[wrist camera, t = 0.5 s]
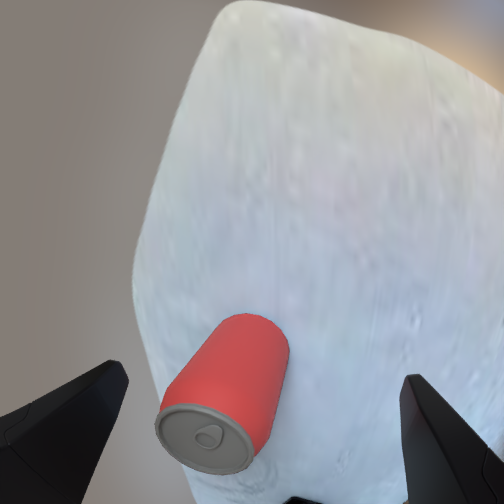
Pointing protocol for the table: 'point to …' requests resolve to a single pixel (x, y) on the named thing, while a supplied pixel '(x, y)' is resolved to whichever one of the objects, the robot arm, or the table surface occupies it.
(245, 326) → the beer can
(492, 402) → the table surface
